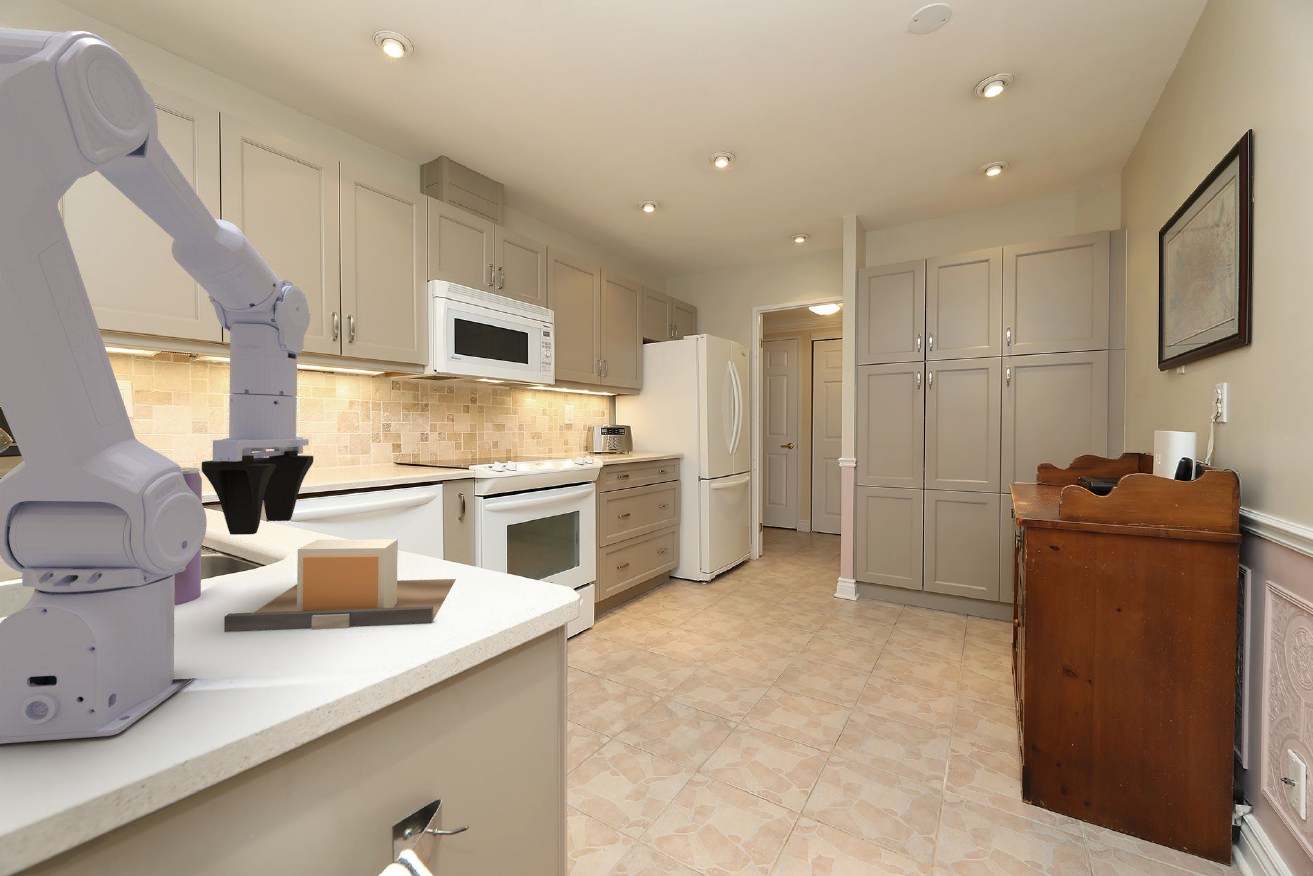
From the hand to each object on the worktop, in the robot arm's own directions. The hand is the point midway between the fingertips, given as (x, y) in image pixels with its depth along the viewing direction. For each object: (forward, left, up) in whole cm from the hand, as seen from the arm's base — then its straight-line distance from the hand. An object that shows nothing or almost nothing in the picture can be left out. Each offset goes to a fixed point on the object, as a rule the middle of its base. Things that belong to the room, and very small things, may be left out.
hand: (262, 526), depth 58 cm
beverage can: (+4, +11, -10) cm, 15 cm away
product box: (-3, -9, -8) cm, 13 cm away
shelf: (+1, -9, -9) cm, 13 cm away
